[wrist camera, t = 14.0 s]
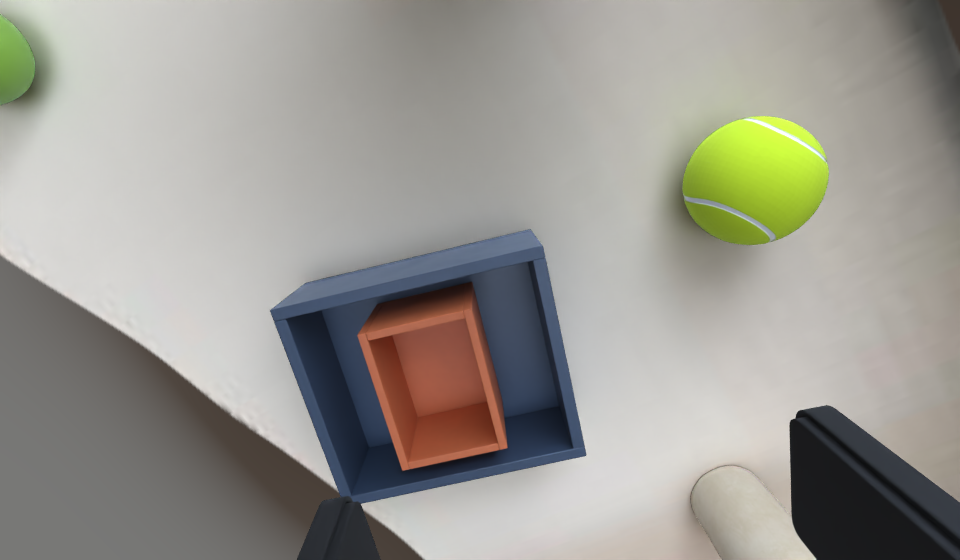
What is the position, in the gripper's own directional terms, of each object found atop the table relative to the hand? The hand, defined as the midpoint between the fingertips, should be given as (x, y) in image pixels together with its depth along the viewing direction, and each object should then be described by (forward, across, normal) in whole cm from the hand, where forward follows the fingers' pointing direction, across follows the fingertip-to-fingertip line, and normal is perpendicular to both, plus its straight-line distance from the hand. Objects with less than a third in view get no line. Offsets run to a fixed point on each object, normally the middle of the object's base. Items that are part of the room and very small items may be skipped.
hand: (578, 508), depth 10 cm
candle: (+21, -13, +22) cm, 33 cm away
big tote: (+22, +6, +5) cm, 23 cm away
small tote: (+21, +6, +6) cm, 23 cm away
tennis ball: (+22, -14, -2) cm, 26 cm away
